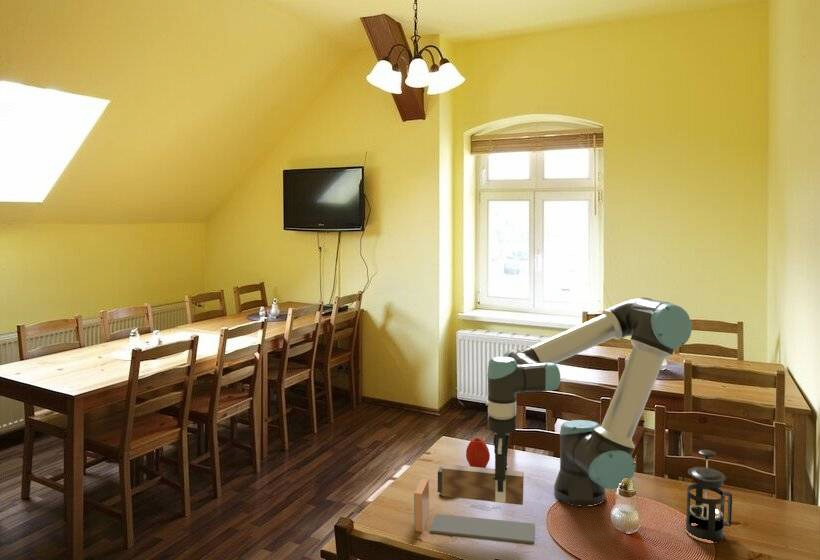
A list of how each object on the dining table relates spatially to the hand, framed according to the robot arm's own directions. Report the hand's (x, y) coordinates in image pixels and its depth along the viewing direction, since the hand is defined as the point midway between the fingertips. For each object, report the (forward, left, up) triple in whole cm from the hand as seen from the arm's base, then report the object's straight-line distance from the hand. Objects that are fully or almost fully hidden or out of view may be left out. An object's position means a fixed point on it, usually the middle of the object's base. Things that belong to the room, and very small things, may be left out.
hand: (501, 498), depth 159 cm
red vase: (+11, -39, -10) cm, 42 cm away
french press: (-54, -9, -10) cm, 56 cm away
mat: (+5, 0, -10) cm, 11 cm away
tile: (+22, 0, -10) cm, 24 cm away
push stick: (+5, 0, 0) cm, 5 cm away
